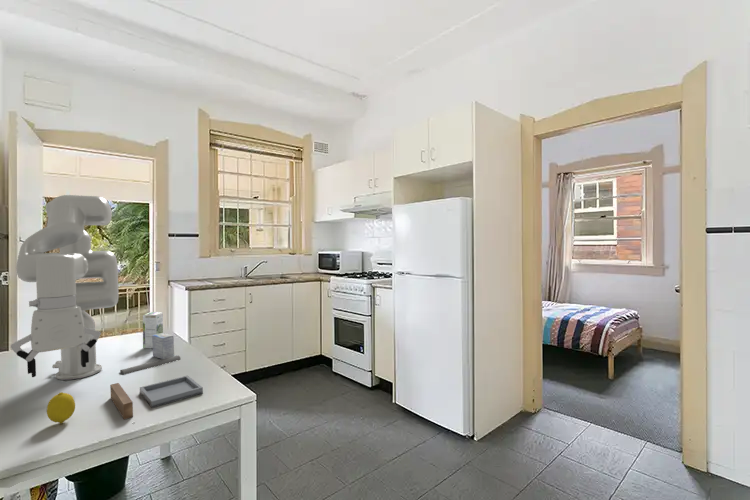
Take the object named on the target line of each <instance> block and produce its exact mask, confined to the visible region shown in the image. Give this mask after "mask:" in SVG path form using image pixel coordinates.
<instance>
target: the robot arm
mask: <svg viewBox="0 0 750 500" xmlns="http://www.w3.org/2000/svg"><path fill="white" fill-rule="evenodd" d="M45 212H46V215H47V224H46V227H44V228H42V229H39V230H38V231H35V232H34V233H33V234H31V235H29V236H28V237H27V238H26V239H25V240H24V241H23V242H22V244H21V245H20V249H19V252H18V256H17V261H16V267H15V268H16V275H17V276H18V278H19V279H20V280H21V281H23V282H26V283H36V299H33V300H29V301H28V302H29V303H28V305H29V306H28V307H30V308H31V307H33V308H36V309H35V310H34V311H33V312H32V316H31V324H30V325H31V328H30V334H28V335H26V336H25V337H22V338H21V339H18V340H16V341H15V342H13V343H11V344H10V348H11V350H12V351H13V352H14V353H15V354H16V355H17V357H19V358H20V359H23V360H25V361H26V363H27V374H28V375H29V374H31V378H35V377H36V376H37V367H36V366H37V363H36V359H35V357H36V356H37V355H38V354H39V353H45V352H53V351H57V350H58V351H59V350H60V360H56V361H55V363H54V364H52V367H51V368H52V369H58V371H57V372H56V374H55V378H56V379H57V380H60V381H64V380H65V381H67V380H68V381H69V380H75V379H76V380H78V379H83V378H87V377H90V376H93V375H96V374H98V373H99V372H101V371H102V370H103V365H100V363H99V364H97V347H96V345H97V344H96V343H97V342H98V340H99V338H100V336H101V335H102V332H101V331H99V330H96V322H95V319H94V318H93V316H92V315H90V314H89V313H88V312H86V311H87V310H89V311H90V310H98V309H106V308H113V307H115V306H116V305H117V304H118V302H119V273H118V271H119V269H118V260H117V256H116V255H115V254H114V253H113V252H112V251H109V250H92V243H91V242H92V239H91V236H90V234H89V233H88V231H86V230H85V226H107V225H109V224H110V223H111V221H112V218H113V217H112V216H113V215H112V214H113V213H112V212H113V211H112V207H111V205H110V203H109V202H108V200H107V199H106V198H104V197H102V196H97V195H96V196H95V195H76V194H66V195H65V194H64V195H59V196H57V197H55V198H53V199H52V200H49V202H47V203H46V205H45ZM56 249H59V252H51V251H54V250H56ZM96 278H97V279H102V281H85V282H84V281H83V282H76V281H78V280H80V279H96ZM28 342H30V345H31V346H30V347H31V349H30V350H29V351H28V352H27V351H25V350H24V349H22V346H23V345H25V344H27V343H28Z"/></svg>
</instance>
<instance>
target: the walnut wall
mask: <svg viewBox="0 0 750 500" xmlns="http://www.w3.org/2000/svg"><path fill="white" fill-rule="evenodd" d="M110 399H111V401H112V402H113V404H114V406H115V408H116V409H117V411H118V412H119V414H120V415H121V417H122V418H123V420H127V419H130V418H133V417H134V406H133V405H134V404H133V403H134V402H133V400H132V399H131V398H130V396H129V395H128V394H127V392H126V391H125V390H124V388H123V387H122V385H121V384H120V383H119V382H117V383H112V384H110Z"/></svg>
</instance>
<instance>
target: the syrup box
mask: <svg viewBox="0 0 750 500" xmlns="http://www.w3.org/2000/svg"><path fill="white" fill-rule="evenodd" d="M160 333H164V312H162V311H161V312H160V311H150V312H148V313H145V314H142V348H143V349H153V342H152V336H153V335H156V334H160Z"/></svg>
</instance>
